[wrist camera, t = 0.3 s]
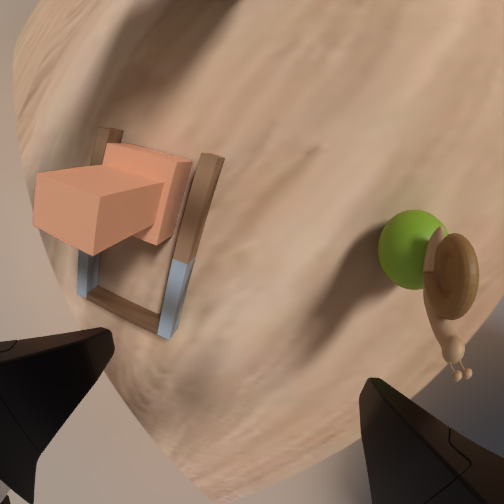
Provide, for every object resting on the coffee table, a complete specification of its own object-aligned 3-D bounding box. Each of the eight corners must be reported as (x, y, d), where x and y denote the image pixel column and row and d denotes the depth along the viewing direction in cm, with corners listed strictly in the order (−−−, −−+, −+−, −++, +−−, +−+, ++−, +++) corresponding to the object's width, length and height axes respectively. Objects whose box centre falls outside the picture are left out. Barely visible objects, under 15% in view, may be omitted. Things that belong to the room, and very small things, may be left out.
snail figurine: (367, 285, 21) (415, 392, 10) (370, 204, 20) (449, 258, 8) (426, 281, 21) (499, 371, 9) (433, 204, 19) (537, 252, 7)
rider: (128, 143, 20) (36, 144, 11) (192, 161, 20) (114, 167, 11) (113, 211, 22) (27, 245, 13) (173, 234, 22) (98, 285, 13)
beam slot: (112, 128, 20) (98, 127, 19) (225, 158, 20) (217, 157, 18) (88, 285, 26) (77, 293, 24) (177, 328, 25) (169, 340, 23)
